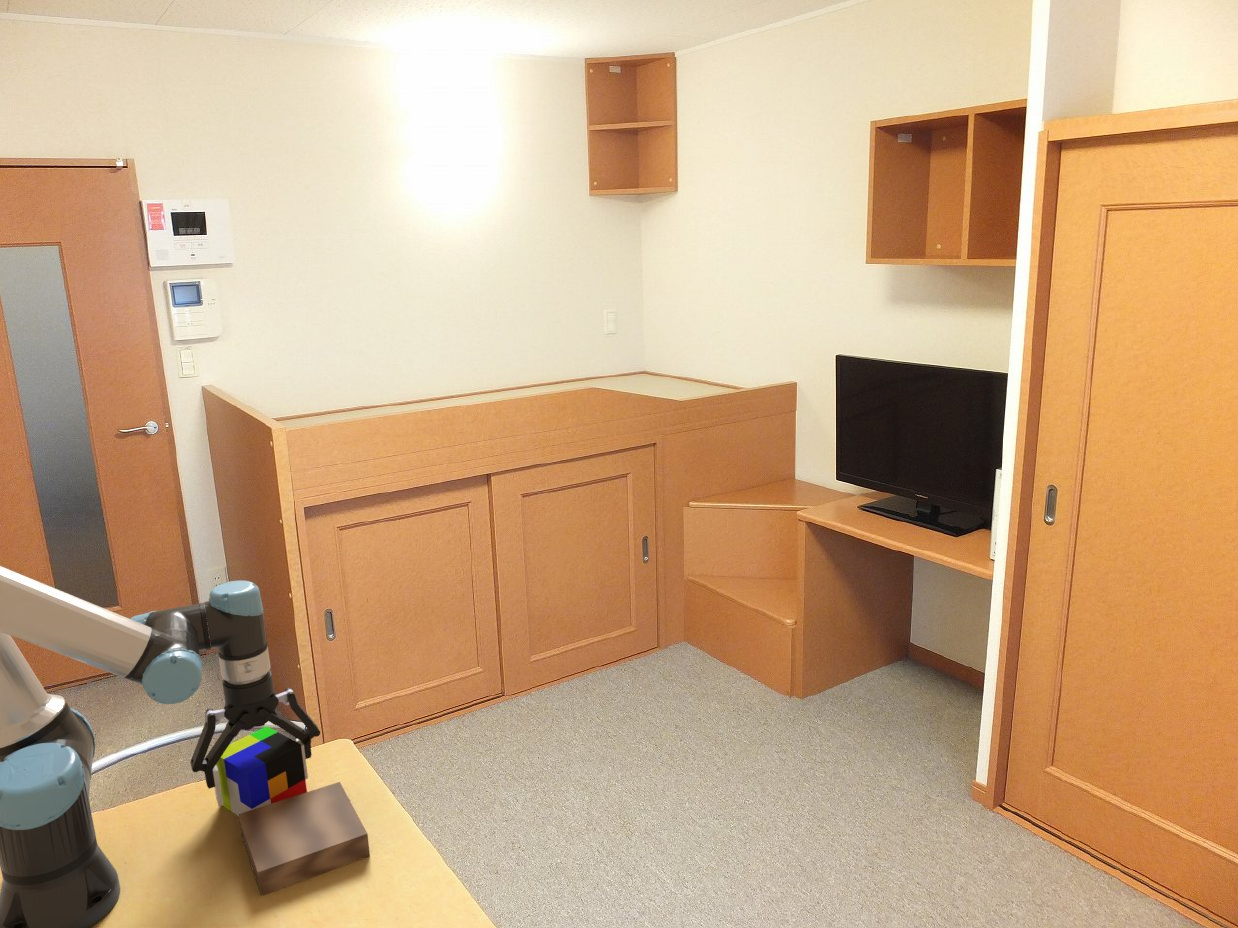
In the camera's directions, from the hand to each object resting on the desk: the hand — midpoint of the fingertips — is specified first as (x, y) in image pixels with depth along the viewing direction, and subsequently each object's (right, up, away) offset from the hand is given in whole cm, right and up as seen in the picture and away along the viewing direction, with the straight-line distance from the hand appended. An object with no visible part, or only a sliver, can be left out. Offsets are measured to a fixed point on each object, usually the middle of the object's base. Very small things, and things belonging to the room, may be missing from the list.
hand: (262, 788), depth 156 cm
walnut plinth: (+11, -5, -11) cm, 16 cm away
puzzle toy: (0, -2, +1) cm, 2 cm away
